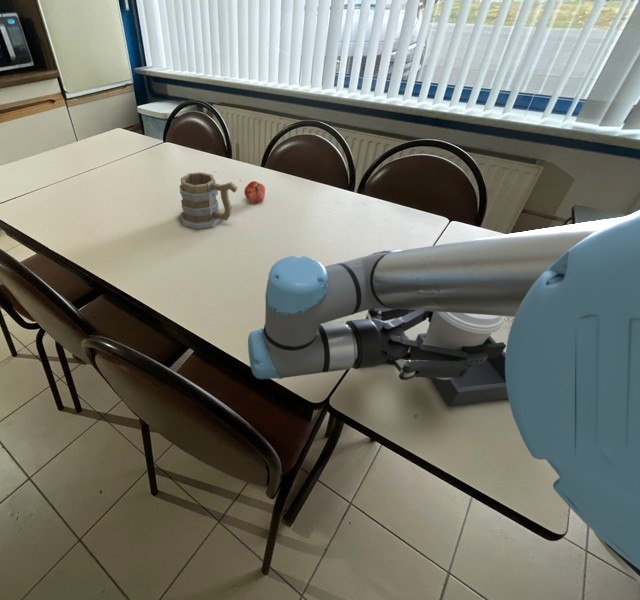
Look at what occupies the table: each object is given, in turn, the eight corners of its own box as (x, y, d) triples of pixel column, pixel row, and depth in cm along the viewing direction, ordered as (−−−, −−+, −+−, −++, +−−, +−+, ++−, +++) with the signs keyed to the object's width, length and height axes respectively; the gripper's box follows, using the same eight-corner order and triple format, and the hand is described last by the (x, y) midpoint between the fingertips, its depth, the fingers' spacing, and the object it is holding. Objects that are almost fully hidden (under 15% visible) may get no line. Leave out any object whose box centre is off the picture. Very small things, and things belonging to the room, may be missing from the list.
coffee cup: (470, 357, 65) (512, 293, 55) (463, 396, 59) (508, 332, 49) (415, 336, 69) (444, 273, 59) (402, 371, 63) (433, 307, 53)
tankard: (174, 222, 120) (168, 178, 110) (196, 207, 129) (192, 164, 119) (226, 238, 113) (224, 193, 103) (245, 221, 121) (246, 177, 111)
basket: (519, 397, 70) (532, 383, 67) (448, 406, 69) (458, 392, 66) (473, 341, 81) (482, 327, 78) (411, 348, 80) (418, 333, 77)
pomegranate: (242, 203, 135) (243, 198, 125) (245, 184, 135) (246, 176, 125) (262, 206, 135) (264, 201, 125) (265, 186, 135) (267, 179, 125)
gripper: (323, 316, 67) (439, 305, 69) (369, 417, 52) (516, 397, 54) (330, 284, 62) (455, 273, 64) (382, 385, 47) (543, 365, 49)
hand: (482, 330), depth 59 cm, fingers closed on coffee cup, 8 cm apart
